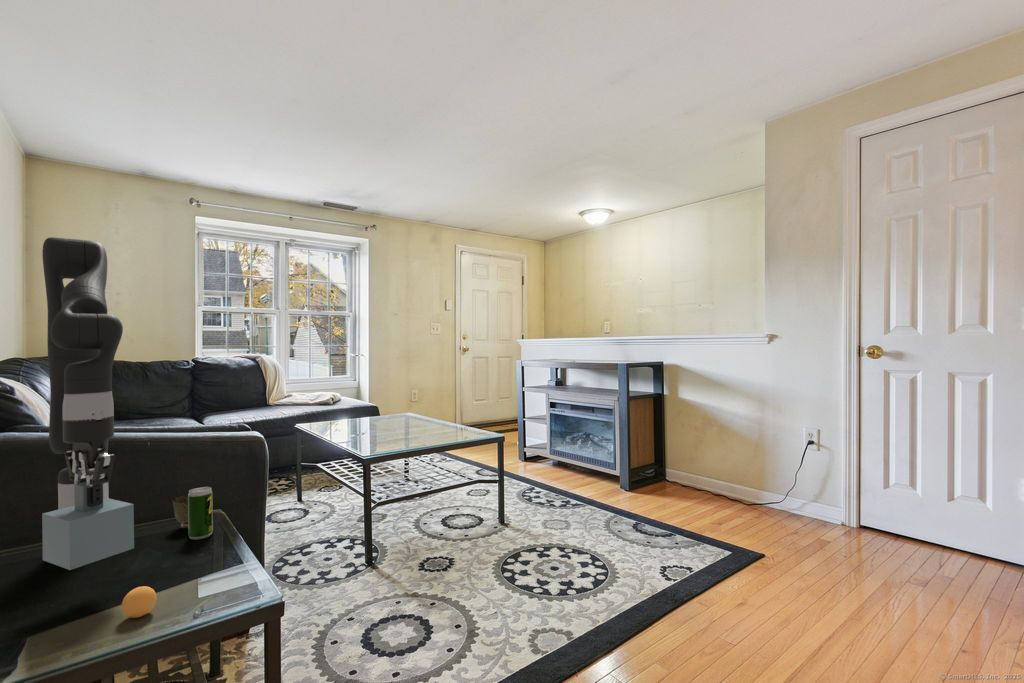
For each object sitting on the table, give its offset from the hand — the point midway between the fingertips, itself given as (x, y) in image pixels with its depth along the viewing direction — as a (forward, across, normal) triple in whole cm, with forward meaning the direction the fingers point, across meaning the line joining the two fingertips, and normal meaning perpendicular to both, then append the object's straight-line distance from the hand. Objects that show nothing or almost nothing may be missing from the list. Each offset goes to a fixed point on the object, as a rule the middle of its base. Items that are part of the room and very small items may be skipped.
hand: (89, 503), depth 94 cm
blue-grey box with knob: (+10, 0, 0) cm, 10 cm away
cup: (+19, -23, +32) cm, 43 cm away
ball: (+16, +16, 0) cm, 23 cm away
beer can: (+19, -13, +29) cm, 37 cm away
